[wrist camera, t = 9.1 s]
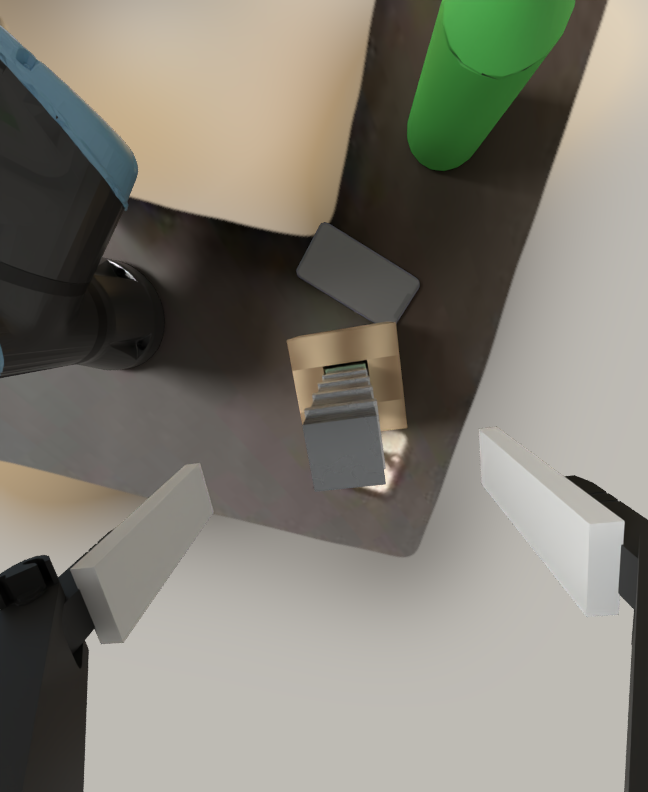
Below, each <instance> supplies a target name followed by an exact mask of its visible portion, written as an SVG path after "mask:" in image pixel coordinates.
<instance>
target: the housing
mask: <svg viewBox="0 0 648 792" xmlns="http://www.w3.org/2000/svg"><path fill="white" fill-rule="evenodd" d="M287 345H288V350H289V355H290V361H291V366H292V371H293V377H294V382H295V387H296V393H297V398H298V403H299V409H300V414H301V419H302V425H303V423H304V421H305V413H304V410H305V408H309V407H311V406H312V403H313V398H312V394H313V393H317V392H318V390H319V389H318V383H321V382H323V380H322V375H326V372H325V369H328V368H329V366H330V365H335V364H342V363H348V362H355V361H362V360H365V362H366V368H367V373H368V376H369V378H370V385H372V387H373V395H374V399H375V398H376V400H377V406H378V414H379V422H380V429H381V431H387V430H395V429H403V428H407V420H406V411H405V402H404V393H403V384H402V374H401V365H400V356H399V347H398V338H397V329H396V322H382V323H375V324H369V325H363V326H357V327H351V328H345V329H338V330H332V331H326V332H320V333H314V334H308V335H302V336H298V337H295V338H292V339H289V340H287Z"/></svg>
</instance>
